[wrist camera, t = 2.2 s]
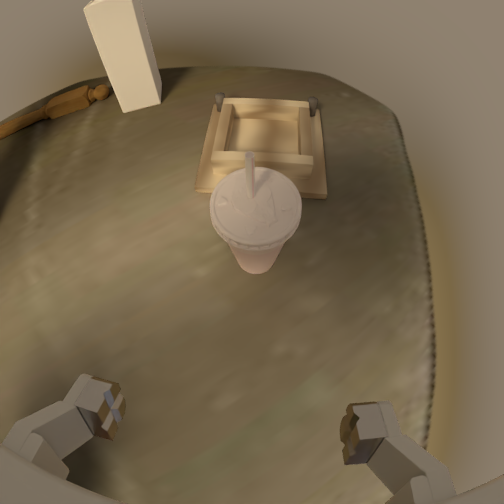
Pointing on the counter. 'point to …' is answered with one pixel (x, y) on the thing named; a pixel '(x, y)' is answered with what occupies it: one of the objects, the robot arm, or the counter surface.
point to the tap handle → (57, 107)
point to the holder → (265, 142)
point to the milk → (125, 51)
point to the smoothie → (255, 214)
